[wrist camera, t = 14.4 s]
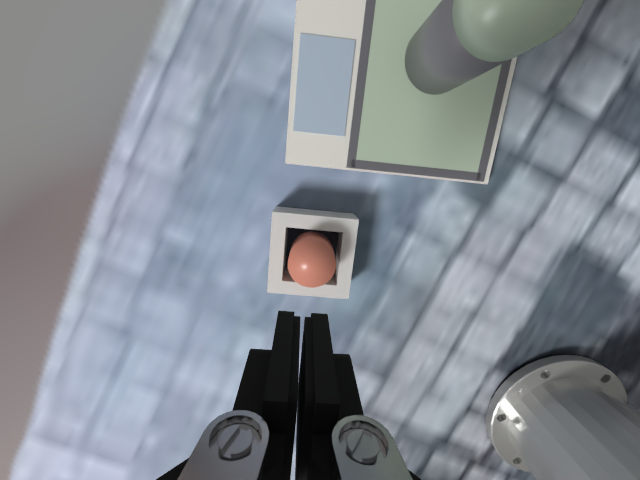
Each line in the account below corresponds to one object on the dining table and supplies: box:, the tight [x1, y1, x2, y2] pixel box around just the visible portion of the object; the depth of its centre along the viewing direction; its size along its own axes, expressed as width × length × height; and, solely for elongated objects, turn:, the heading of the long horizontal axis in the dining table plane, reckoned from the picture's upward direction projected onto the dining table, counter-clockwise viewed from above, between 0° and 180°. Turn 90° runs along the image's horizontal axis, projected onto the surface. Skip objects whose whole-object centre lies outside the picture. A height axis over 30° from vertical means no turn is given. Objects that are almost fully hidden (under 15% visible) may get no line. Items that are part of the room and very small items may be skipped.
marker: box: [405, 0, 584, 95], centre depth 16 cm, size 4×4×9 cm
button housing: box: [267, 206, 359, 299], centre depth 23 cm, size 6×6×3 cm
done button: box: [288, 231, 336, 288], centre depth 22 cm, size 3×3×3 cm
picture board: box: [285, 0, 517, 184], centre depth 21 cm, size 15×16×1 cm
